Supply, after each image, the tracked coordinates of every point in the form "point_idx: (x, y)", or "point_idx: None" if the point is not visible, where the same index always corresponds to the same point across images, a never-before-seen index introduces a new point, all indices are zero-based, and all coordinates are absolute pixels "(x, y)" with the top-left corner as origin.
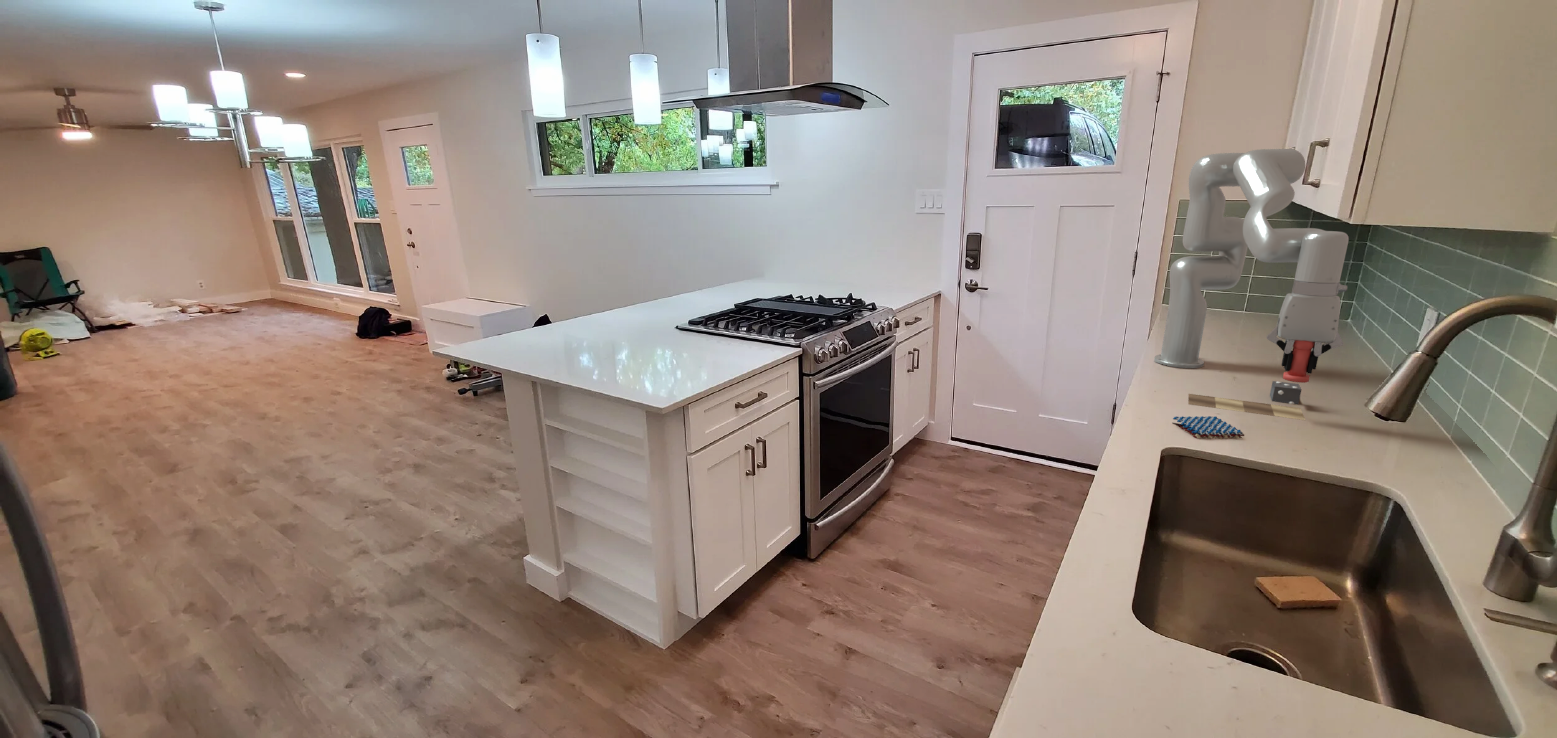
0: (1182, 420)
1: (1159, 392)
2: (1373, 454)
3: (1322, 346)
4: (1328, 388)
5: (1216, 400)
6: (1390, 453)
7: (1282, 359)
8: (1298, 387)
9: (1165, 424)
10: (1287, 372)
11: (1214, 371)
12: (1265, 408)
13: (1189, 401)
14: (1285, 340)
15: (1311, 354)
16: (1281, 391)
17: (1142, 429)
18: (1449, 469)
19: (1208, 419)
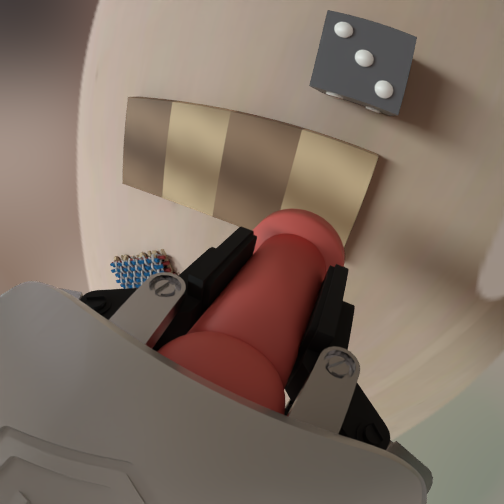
0: (121, 277)
1: (101, 78)
2: (365, 378)
3: (345, 428)
4: None
5: (170, 133)
6: (396, 375)
7: (198, 258)
8: (398, 86)
9: (112, 268)
10: (263, 233)
11: None
12: (271, 176)
13: (124, 162)
14: (112, 318)
15: (291, 376)
16: (335, 96)
17: (99, 286)
18: (423, 406)
19: (148, 274)
